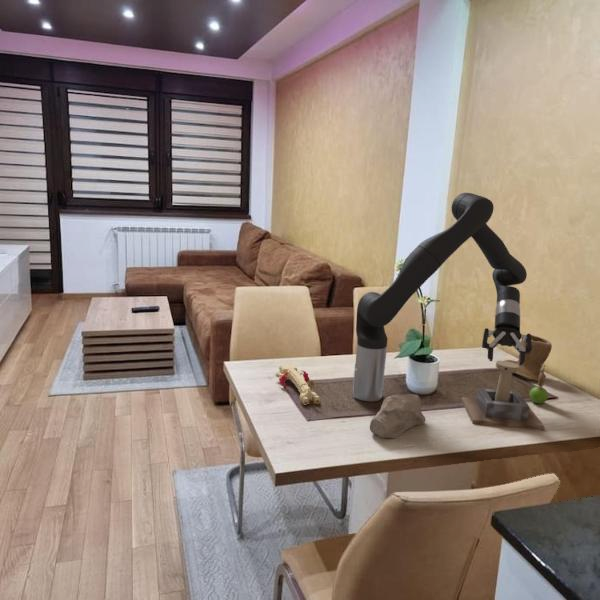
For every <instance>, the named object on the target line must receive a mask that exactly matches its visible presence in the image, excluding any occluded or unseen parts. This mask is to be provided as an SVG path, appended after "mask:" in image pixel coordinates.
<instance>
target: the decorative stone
mask: <svg viewBox="0 0 600 600" xmlns="http://www.w3.org/2000/svg"><path fill="white" fill-rule="evenodd" d="M425 423H426V417H425V415H424V414H423V413H422V399H421V397H419V395H418V394H413V393H408V394H395V395H390V396H387V397H384V399H383V401H382V403H381V405H380V409H379V411H378V412H377V413H376V414H375V416H374V417H373V418H372V419H371V421H370V424H369V431H370V432H371V433H372V434H373V435H375V436H378V437H380V438H384V439H390V438H391V439H396V438H397V437H399V436H400V435H402V434H403V433H404V432H405V431H407V430H410V429H411V428H412V427H414V426H417V425H423V424H425Z"/></svg>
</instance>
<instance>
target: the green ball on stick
mask: <svg viewBox="0 0 600 600" xmlns="http://www.w3.org/2000/svg"><path fill="white" fill-rule="evenodd" d="M541 366H542V367H541V370H540V375H539V378H538V380H537V386H534V387H532V388H531V389H530V391H529V395H528V396H529V399H530V400H531V401H532V402H533V403H535V404H538V405H540V404H541V405H542V404H544V403H546V402H547V401H548V398H549V394H548V391H547V390H546V389H545V388H544V387H543V386H544V381H545V378H544V374H545V367H546V365H545V364H542V365H541Z"/></svg>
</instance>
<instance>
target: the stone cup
mask: <svg viewBox="0 0 600 600" xmlns="http://www.w3.org/2000/svg"><path fill="white" fill-rule="evenodd" d="M520 342H521V344H522V346H523V347H524V348H526V343H525V342H524V341H523V339H522V338H521V339H520ZM531 343H532V350H531V352H530V354H525V361H524V363H523V364H522V365H519V359H518V360H512V359H505V360H504V361H507V362H512V363H515V364H518V365H519V370H518V371H517V372H513V373H514V374H516V375H518V376H519V377H522V378H526V379H528V380H531V381H538V378H539V375H540V370H541V368H543V366H541V365H542V364H543V365H545V362H546V361H547V359H548V358H549V355H550V353H551V350H552V349H553V347H552V343H551V341H550V340H548V339H545V338H542V337H540V336H536V335H534V334H531ZM518 354H520V353H519V352H518ZM544 379H546V374H545V373H544Z"/></svg>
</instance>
